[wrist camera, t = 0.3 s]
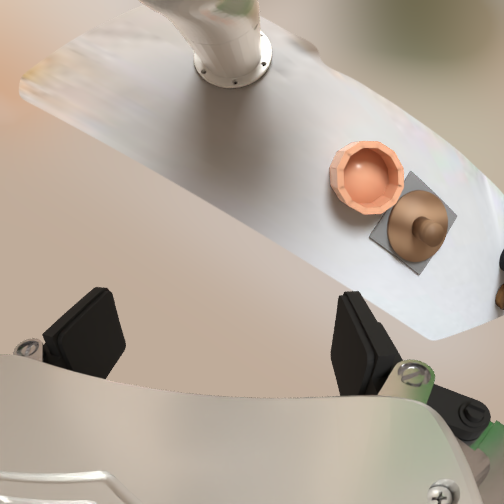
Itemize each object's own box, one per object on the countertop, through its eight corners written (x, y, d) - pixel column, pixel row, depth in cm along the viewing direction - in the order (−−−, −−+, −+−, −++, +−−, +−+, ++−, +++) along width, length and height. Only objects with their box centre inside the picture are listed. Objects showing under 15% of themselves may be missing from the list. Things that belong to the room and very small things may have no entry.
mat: (369, 236, 46) (369, 237, 45) (410, 171, 41) (411, 171, 41) (418, 273, 47) (419, 274, 47) (455, 215, 43) (457, 216, 43)
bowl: (327, 142, 41) (334, 141, 36) (389, 143, 40) (402, 142, 35) (331, 209, 45) (338, 215, 40) (391, 206, 44) (403, 212, 39)
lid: (387, 190, 42) (403, 195, 37) (446, 190, 41) (465, 195, 35) (385, 262, 47) (398, 276, 41) (441, 256, 45) (457, 268, 40)
